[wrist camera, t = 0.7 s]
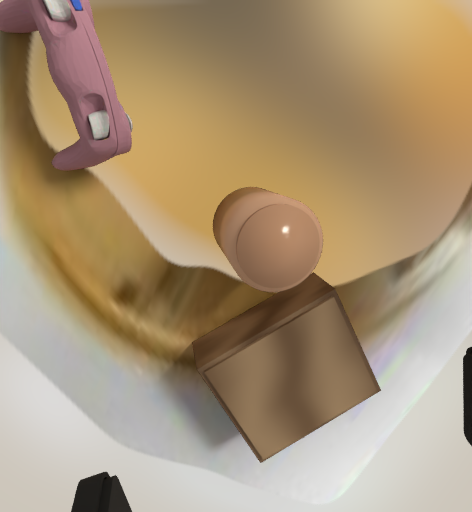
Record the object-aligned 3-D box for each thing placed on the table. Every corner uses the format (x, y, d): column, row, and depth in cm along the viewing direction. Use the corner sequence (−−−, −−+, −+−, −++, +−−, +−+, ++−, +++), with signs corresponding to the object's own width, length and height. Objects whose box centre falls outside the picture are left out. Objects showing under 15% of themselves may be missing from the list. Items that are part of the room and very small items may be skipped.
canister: (266, 173, 27) (302, 178, 20) (297, 238, 29) (339, 263, 22) (199, 210, 27) (212, 230, 20) (234, 273, 29) (258, 311, 22)
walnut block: (313, 272, 30) (336, 290, 26) (356, 364, 34) (382, 392, 30) (192, 342, 30) (197, 371, 26) (249, 428, 34) (261, 465, 30)
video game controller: (116, 160, 26) (156, 147, 21) (54, 177, 24) (80, 168, 18) (62, 11, 23) (92, -51, 18) (-16, 13, 21) (-9, -58, 15)
